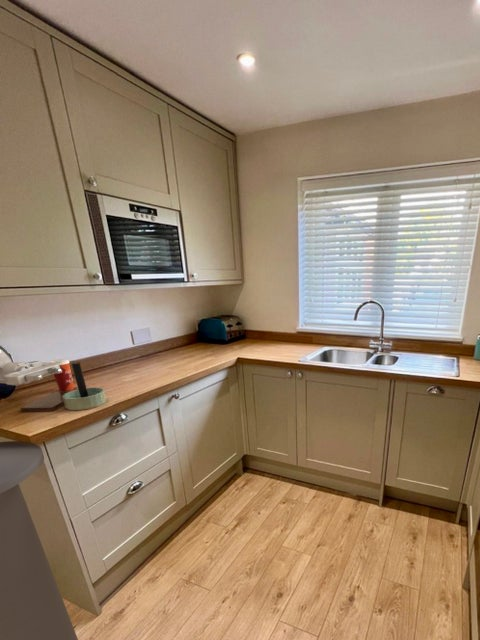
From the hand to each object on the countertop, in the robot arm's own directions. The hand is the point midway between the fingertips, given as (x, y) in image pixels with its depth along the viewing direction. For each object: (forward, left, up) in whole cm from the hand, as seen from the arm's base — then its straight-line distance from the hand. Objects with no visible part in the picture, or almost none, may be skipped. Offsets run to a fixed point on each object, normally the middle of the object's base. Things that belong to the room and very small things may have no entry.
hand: (50, 374), depth 134 cm
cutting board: (+1, +2, -12) cm, 13 cm away
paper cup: (+18, +8, -13) cm, 23 cm away
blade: (-2, -13, -12) cm, 18 cm away
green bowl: (-2, -13, -12) cm, 18 cm away
